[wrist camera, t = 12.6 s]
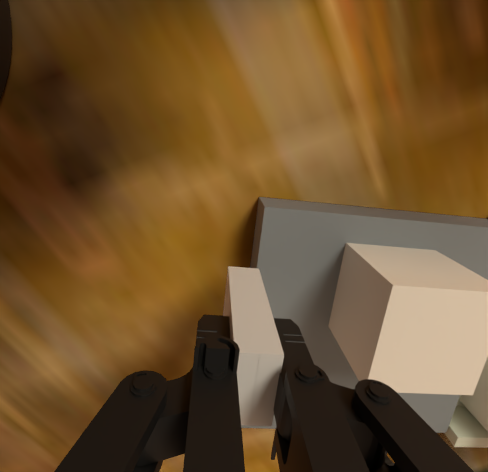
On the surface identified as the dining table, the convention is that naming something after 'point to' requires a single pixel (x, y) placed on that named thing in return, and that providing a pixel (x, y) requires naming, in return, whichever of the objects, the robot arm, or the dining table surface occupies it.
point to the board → (329, 264)
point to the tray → (466, 429)
